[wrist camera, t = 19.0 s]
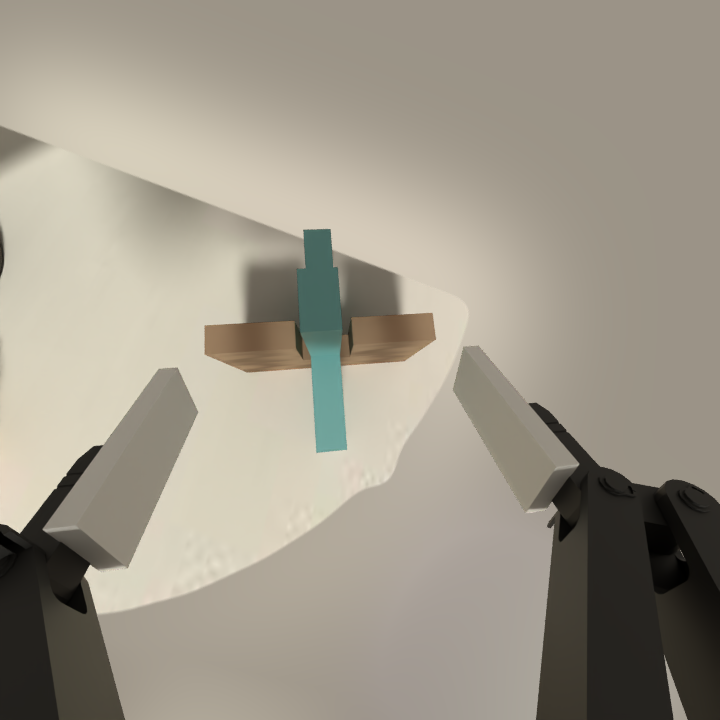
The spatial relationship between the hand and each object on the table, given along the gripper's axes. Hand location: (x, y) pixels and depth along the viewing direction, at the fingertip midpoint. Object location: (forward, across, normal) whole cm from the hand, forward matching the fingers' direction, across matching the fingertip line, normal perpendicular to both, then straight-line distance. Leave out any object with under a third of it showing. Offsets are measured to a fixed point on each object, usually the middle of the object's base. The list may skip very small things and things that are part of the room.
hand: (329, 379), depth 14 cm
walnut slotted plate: (+20, 0, -12) cm, 23 cm away
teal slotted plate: (+20, 0, -12) cm, 23 cm away
